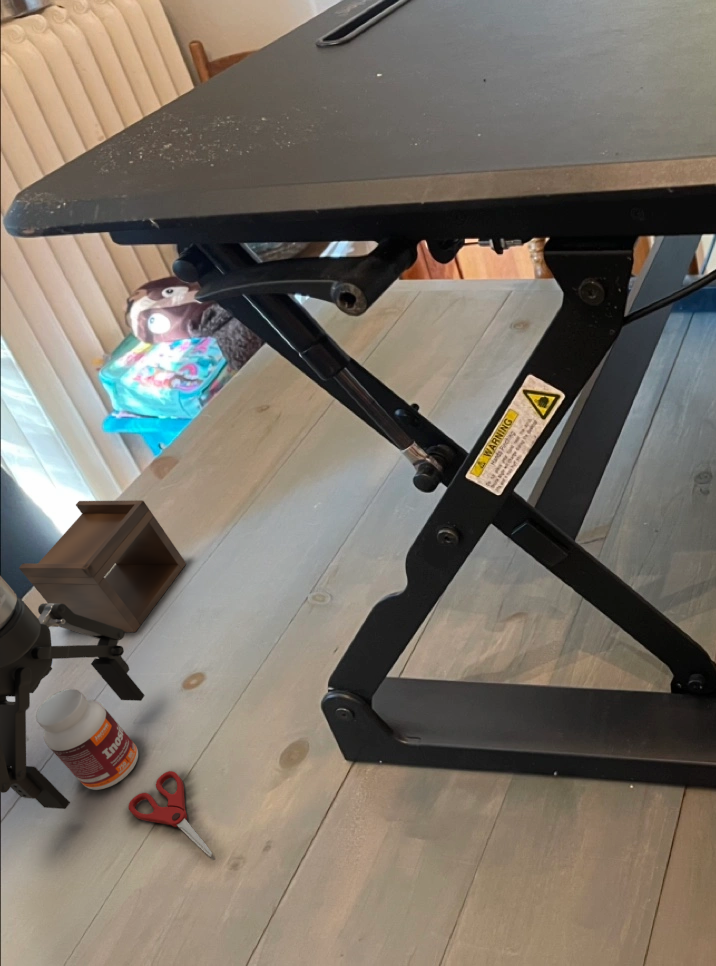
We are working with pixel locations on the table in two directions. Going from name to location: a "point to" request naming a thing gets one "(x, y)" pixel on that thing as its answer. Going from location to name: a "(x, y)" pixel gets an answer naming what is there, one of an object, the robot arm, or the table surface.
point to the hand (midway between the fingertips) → (97, 749)
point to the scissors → (169, 809)
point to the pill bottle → (86, 739)
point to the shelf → (109, 564)
